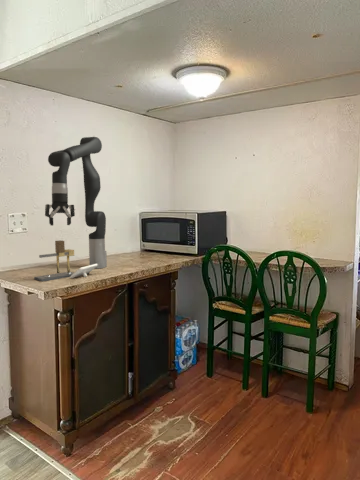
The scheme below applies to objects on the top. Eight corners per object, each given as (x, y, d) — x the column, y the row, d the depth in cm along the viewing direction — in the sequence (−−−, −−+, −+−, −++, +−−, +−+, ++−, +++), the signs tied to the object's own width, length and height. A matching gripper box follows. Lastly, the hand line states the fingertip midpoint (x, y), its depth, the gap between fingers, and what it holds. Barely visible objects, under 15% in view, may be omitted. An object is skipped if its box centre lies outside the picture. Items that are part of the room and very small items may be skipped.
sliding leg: (60, 272, 193) (59, 240, 192) (65, 273, 190) (64, 240, 188) (54, 273, 191) (53, 240, 189) (60, 274, 188) (58, 241, 186)
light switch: (84, 274, 186) (100, 269, 199) (79, 266, 187) (96, 262, 200) (73, 283, 189) (90, 278, 203) (68, 275, 190) (86, 270, 203)
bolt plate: (69, 273, 201) (69, 270, 201) (77, 275, 196) (77, 272, 196) (34, 279, 186) (34, 276, 186) (42, 281, 181) (42, 278, 181)
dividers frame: (69, 271, 198) (68, 249, 197) (74, 272, 195) (74, 249, 194) (36, 276, 185) (35, 252, 184) (41, 278, 181) (40, 253, 180)
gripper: (70, 193, 193) (71, 224, 194) (42, 192, 184) (43, 225, 185) (76, 193, 187) (76, 225, 188) (48, 191, 178) (48, 225, 179)
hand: (60, 225), depth 187 cm, fingers open, 8 cm apart
